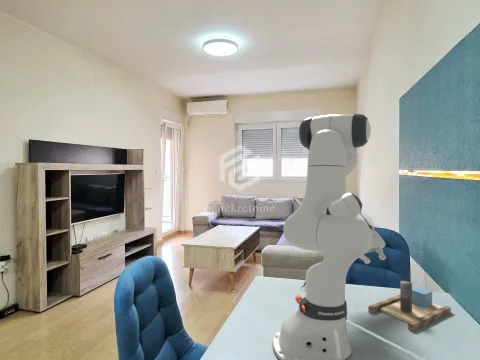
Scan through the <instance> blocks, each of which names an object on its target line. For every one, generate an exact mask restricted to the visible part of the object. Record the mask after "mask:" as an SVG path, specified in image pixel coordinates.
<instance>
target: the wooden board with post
mask: <svg viewBox="0 0 480 360" xmlns="http://www.w3.org/2000/svg"><path fill="white" fill-rule="evenodd" d="M399 285H400V286H399V287H400V289H399V291H400V294H399V295H400V301H397V302H395V303H392V304H390V305H387V306H385V307H382V308H380V311H379V312H381V313H384V314H386V315H389V316H392V317H394V318H397V319H399V320H400V321H403V322H404V323H405V322H406V323H407V324H408V323H409V322H411V321H414V320H416V319H418V318H420V317H422V316H424V315H427V314H429V313H431V312H433V311H435V310H437V309H439V308H442V307H443V306H442V305H438V304H435V303H433V302H432V305H431V306H429V307H426V308H423V307H420V306H418V305H415V304H412V289H413V283H412V282H411V281H408V280H400V284H399Z"/></svg>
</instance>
